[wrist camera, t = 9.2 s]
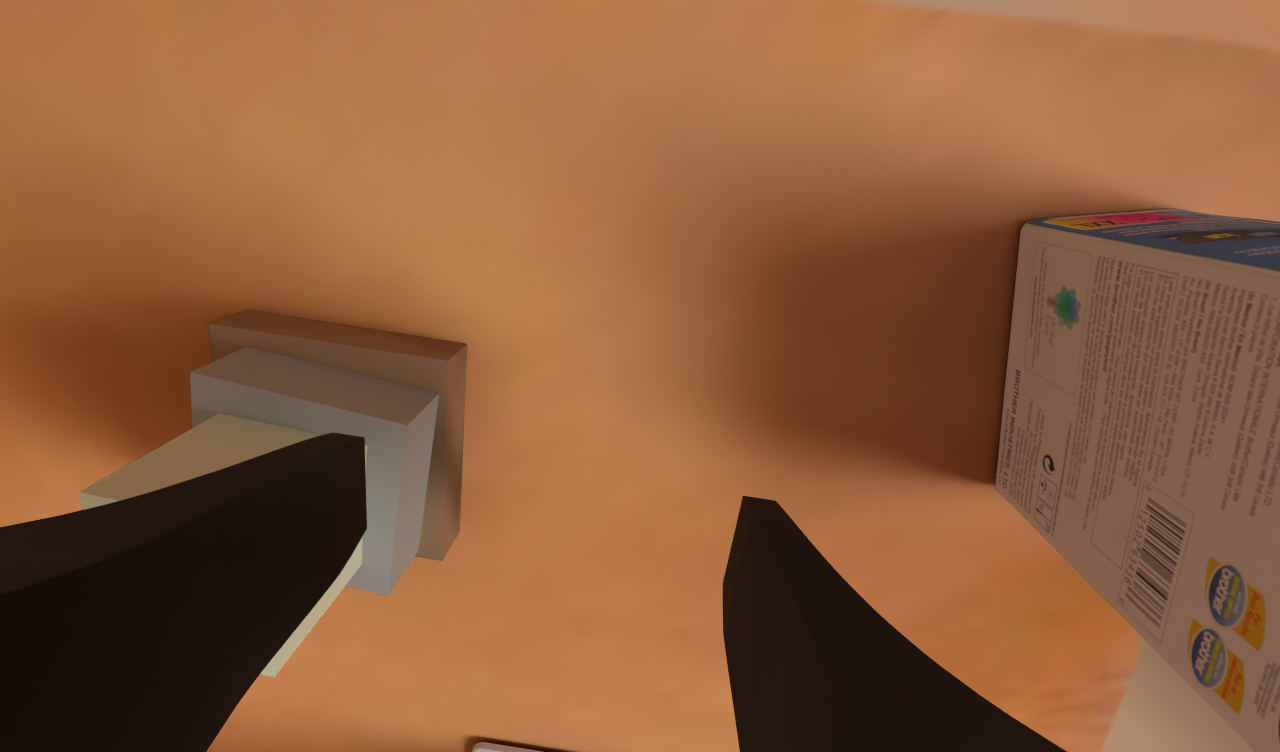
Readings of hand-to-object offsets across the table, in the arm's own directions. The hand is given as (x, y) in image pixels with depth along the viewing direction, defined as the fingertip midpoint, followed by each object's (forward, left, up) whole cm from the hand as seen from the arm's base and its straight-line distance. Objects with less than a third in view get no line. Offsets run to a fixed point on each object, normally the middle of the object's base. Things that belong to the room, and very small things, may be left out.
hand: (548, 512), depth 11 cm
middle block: (-5, +9, -8) cm, 13 cm away
